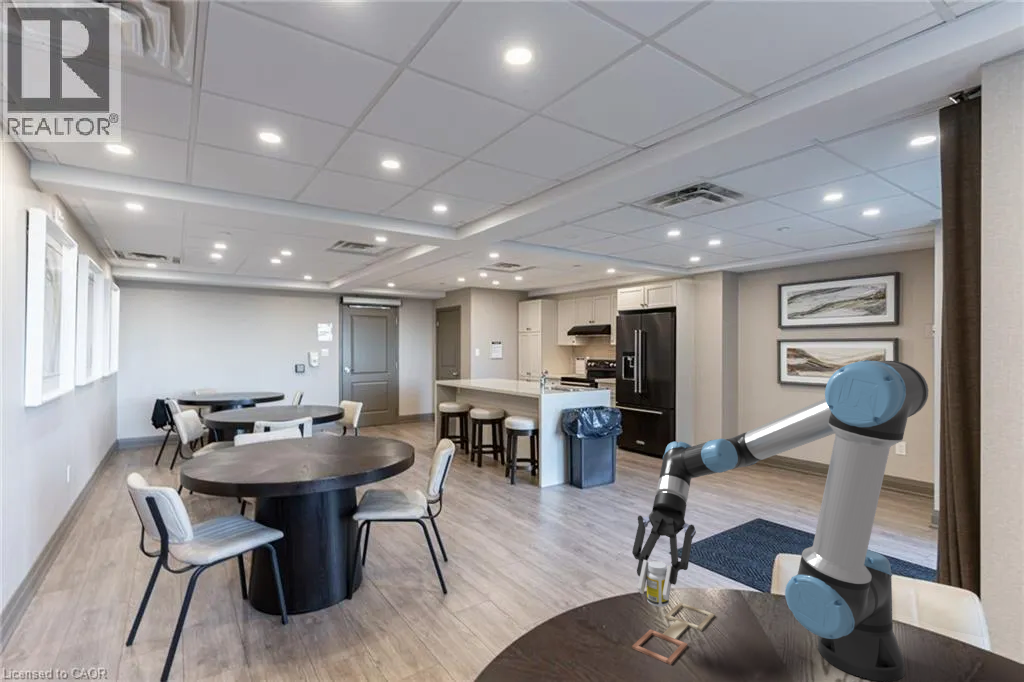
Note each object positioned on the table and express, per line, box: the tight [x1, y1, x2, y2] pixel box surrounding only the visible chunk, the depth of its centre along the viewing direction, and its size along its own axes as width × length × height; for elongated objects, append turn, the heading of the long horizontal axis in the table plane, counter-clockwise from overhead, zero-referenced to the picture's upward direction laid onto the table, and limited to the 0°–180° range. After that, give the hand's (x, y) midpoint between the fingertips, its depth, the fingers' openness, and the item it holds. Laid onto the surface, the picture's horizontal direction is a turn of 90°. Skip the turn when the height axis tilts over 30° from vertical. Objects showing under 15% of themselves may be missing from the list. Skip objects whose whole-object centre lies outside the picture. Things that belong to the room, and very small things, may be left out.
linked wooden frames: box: [631, 602, 716, 666], centre depth 116 cm, size 9×26×1 cm, turn 138°
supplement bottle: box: [646, 560, 670, 607], centre depth 111 cm, size 5×5×8 cm
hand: (652, 594), depth 108 cm, fingers closed on supplement bottle, 5 cm apart
